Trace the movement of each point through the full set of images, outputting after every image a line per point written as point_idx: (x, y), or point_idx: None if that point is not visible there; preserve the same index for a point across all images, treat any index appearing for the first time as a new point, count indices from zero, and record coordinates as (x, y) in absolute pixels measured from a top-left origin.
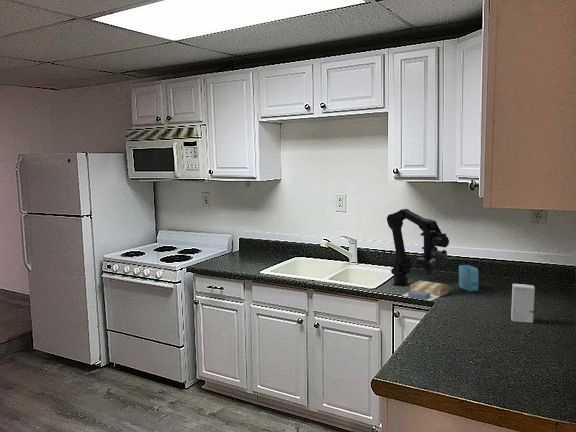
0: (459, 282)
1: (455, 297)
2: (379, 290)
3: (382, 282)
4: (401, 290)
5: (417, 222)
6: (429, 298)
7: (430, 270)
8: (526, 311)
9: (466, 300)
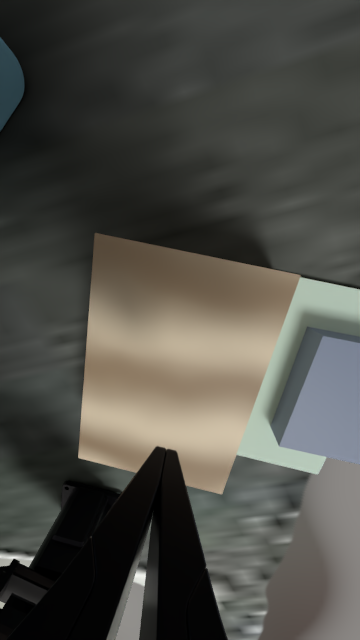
0: None
1: (247, 154)
2: (240, 561)
3: None
4: None
5: None
6: (357, 322)
7: (194, 537)
8: None
9: (321, 20)
